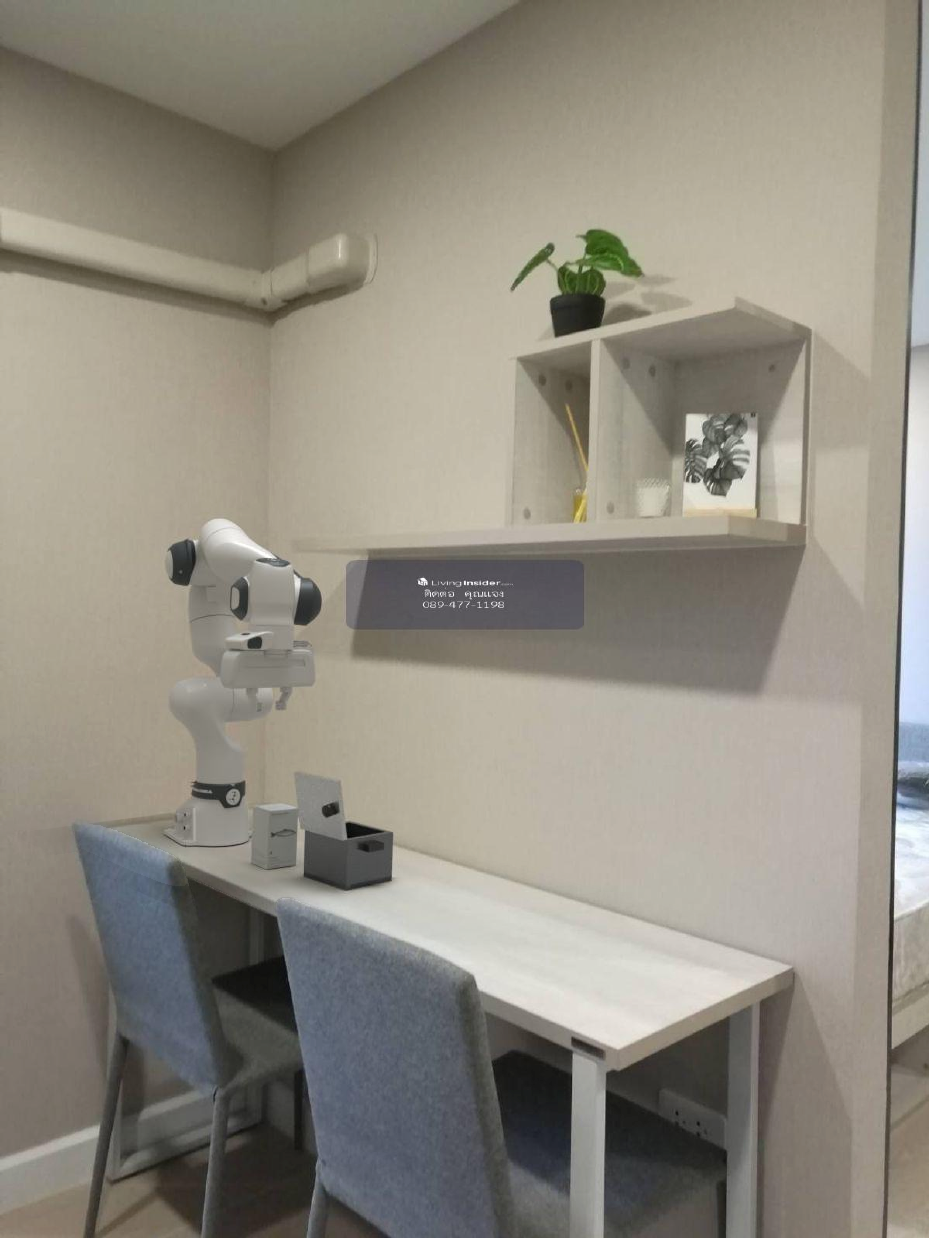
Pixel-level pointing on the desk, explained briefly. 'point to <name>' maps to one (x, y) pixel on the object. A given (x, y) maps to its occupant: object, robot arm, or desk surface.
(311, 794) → the lid
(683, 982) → the desk surface
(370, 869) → the grey storage bin
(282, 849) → the supplement box
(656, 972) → the desk surface
